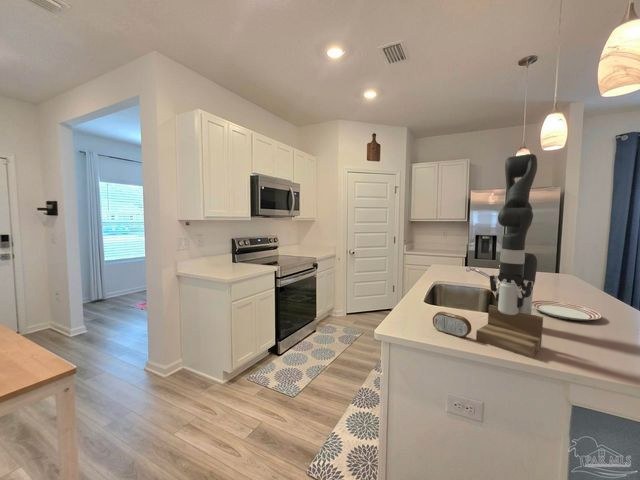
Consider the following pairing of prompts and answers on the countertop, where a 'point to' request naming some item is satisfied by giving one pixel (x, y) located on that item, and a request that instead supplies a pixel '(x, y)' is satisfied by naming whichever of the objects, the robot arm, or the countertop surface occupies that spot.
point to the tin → (451, 324)
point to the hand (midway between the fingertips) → (508, 304)
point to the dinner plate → (565, 310)
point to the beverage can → (508, 298)
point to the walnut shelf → (512, 332)
